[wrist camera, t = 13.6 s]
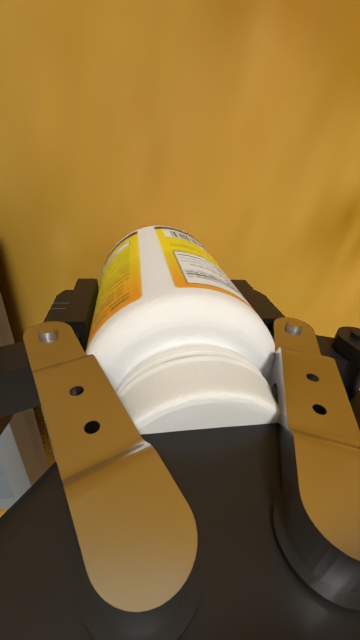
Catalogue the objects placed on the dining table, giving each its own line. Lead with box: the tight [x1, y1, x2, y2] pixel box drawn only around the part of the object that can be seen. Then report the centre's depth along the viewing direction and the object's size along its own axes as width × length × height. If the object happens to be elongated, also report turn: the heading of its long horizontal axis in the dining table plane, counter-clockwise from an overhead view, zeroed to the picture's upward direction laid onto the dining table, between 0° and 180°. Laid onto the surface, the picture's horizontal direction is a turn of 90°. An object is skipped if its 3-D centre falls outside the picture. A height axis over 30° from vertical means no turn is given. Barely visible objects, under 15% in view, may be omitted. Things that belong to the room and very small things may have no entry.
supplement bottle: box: [85, 226, 280, 434], centre depth 10 cm, size 6×6×10 cm
